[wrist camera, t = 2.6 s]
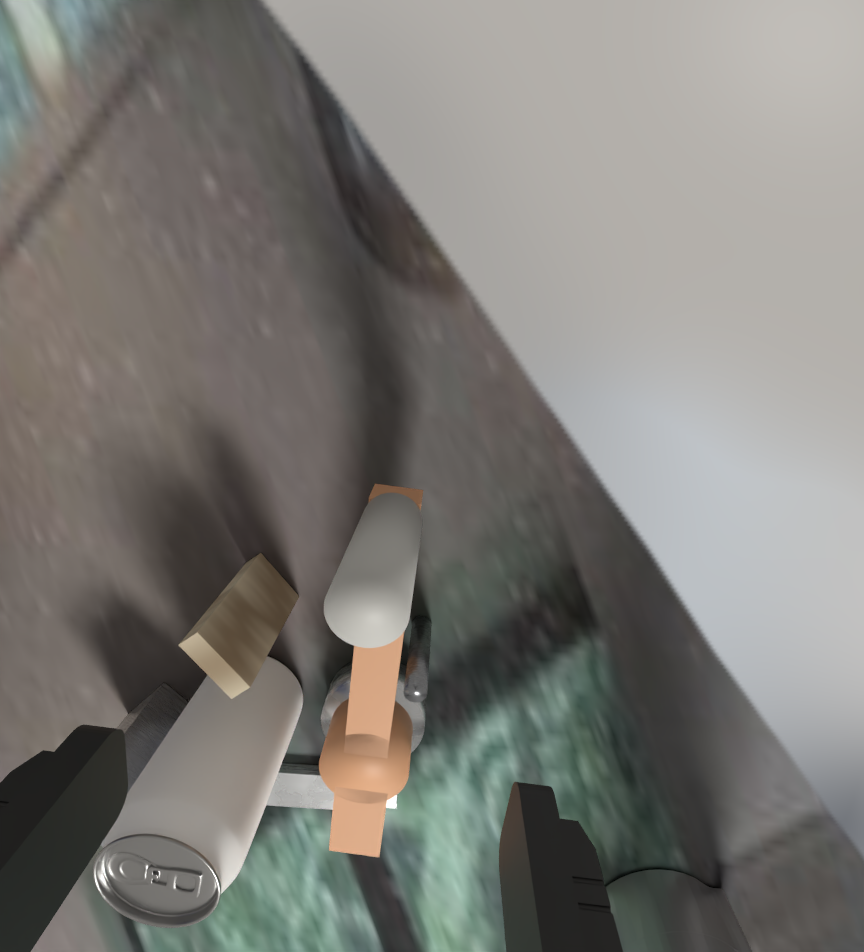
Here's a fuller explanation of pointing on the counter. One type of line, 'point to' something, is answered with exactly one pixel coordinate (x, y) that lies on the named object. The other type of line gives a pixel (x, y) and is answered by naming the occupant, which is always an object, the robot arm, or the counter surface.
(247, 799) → the can
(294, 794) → the crusher base
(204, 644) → the slat
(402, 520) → the lever
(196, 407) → the counter surface
